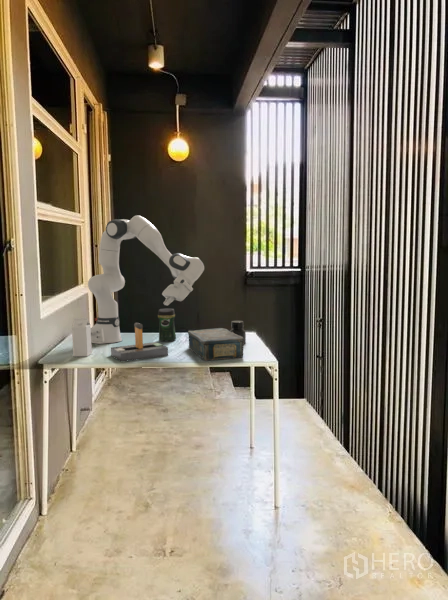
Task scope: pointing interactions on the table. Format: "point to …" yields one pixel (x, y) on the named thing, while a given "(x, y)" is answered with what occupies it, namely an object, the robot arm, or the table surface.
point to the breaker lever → (138, 335)
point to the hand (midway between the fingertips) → (165, 304)
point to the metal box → (216, 344)
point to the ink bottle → (238, 329)
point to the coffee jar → (166, 324)
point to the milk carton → (81, 337)
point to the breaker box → (139, 351)
